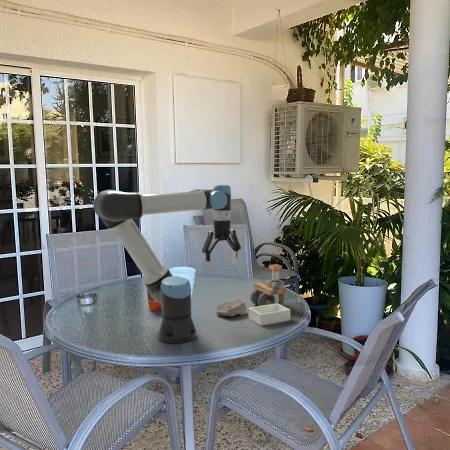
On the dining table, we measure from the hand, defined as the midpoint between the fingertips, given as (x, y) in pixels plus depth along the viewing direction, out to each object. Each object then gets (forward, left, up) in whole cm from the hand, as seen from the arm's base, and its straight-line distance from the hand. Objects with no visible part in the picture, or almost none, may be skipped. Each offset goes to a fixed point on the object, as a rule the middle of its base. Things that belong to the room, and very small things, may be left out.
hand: (221, 266), depth 199 cm
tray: (+17, -14, -23) cm, 32 cm away
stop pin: (+28, -1, -13) cm, 30 cm away
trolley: (+25, +3, -23) cm, 34 cm away
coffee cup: (-24, +25, -23) cm, 42 cm away
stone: (+5, +1, -24) cm, 24 cm away
